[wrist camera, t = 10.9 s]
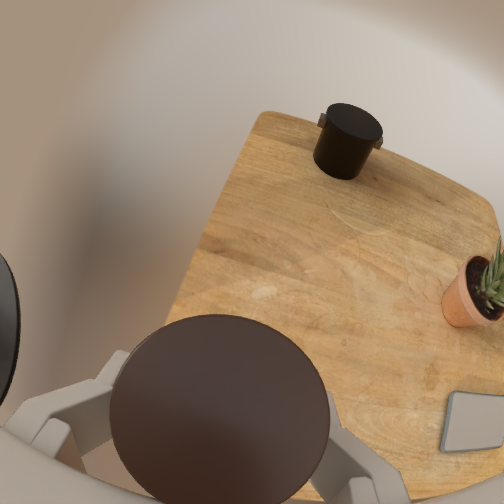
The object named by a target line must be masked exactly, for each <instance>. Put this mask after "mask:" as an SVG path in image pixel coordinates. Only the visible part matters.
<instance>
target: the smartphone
mask: <svg viewBox="0 0 504 504" xmlns="http://www.w3.org/2000/svg"><path fill="white" fill-rule="evenodd" d="M503 441H504V396H501V395H489V394H479V393H471V392H462V391H453V392H451V394H450V396H449V402H448V409H447V415H446V421H445V426H444V431H443V436H442V441H441V446H440V450H441V452H443V453H448V452H465V451H475V450H484V449H492V448H499V447H501V446H502V444H503Z"/></svg>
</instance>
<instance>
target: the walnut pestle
mask: <svg viewBox="0 0 504 504" xmlns="http://www.w3.org/2000/svg"><path fill="white" fill-rule="evenodd" d="M109 421H110V429H111V434H112V438H113V441H114V445H115V448H116V450H117V452H118V454H119V456H120V459H121V461H122V462H123V464H124V465H125V467H126V469H127V470H128V471H129V473H130V474H131V475H132V477H133V478H134V479H135V480H136V481H137V483H139V484H140V485H141V486H142V487H143V488H144V489H145V490H146V491H147V492H148V493H150V494H151V495H152V496H154V497H155V498H156V499H158V500H159V501H161V502H163V503H165V504H281V503H282V502H284V501H286V500H287V499H288V498H290V497H291V496H292V495H294V494H295V493H296V492H297V491H298V490H299V489H300V488H301V487H302V486H303V485H304V484H305V483H306V482H307V481H308V480H309V479H310V477H311V476H312V475H313V473H314V472H315V470H316V469H317V467H318V465H319V463H320V461H321V460H322V457H323V455H324V452H325V449H326V446H327V442H328V438H329V433H330V406H329V401H328V396H327V392H326V389H325V386H324V383H323V381H322V379H321V377H320V375H319V373H318V371H317V369H316V368H315V366H314V365H313V363H312V362H311V360H310V359H309V358H308V357H307V355H306V354H305V353H304V352H303V351H302V350H301V349H300V348H299V347H298V346H297V345H296V344H295V343H294V342H293V341H292V340H290V339H289V338H287V337H286V336H285V335H283V334H282V333H280V332H279V331H277V330H275V329H273V328H271V327H270V326H268V325H265V324H263V323H260V322H258V321H255V320H252V319H248V318H244V317H240V316H234V315H227V314H208V315H198V316H193V317H189V318H184V319H181V320H178V321H176V322H173V323H170V324H168V325H166V326H164V327H162V328H160V329H159V330H157V331H155V332H154V333H152V334H151V335H149V336H148V337H147V338H146V339H144V340H143V341H142V342H141V343H140V344H139V345H138V346H137V347H136V348H135V349H134V350H133V351H132V352H131V353H130V355H129V356H128V357H127V359H126V360H125V362H124V363H123V365H122V366H121V368H120V371H119V373H118V375H117V377H116V379H115V382H114V385H113V389H112V392H111V398H110V404H109Z"/></svg>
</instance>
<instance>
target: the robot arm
mask: <svg viewBox="0 0 504 504" xmlns="http://www.w3.org/2000/svg"><path fill="white" fill-rule="evenodd" d="M129 355H130V353H129V352H126V351H122V350H120V349H119V350H117V351H115V352H114V354H113V355H112V357H111V358H110V359H109V361H108V362H107V363H106V365H105V366H104V367H103V369H102V370H101V372H100V373H99V374H98V376H97V377H96V379H95V380H93V379H87V380H84V381H82V382H79V383H76V384H73V385H70V386H67V387H64V388H61V389H58V390H55V391H52V392H49V393H46V394H42V395H40V396H36V397H33V398H30V399H26V400H24V401H23V403H22V404H21V405H20V406H19V407H18V408H17V410H16V411H15V412H14V413H13V414H12V416H11V417H10V418H9V419H8V421H7V422H6V423H5V424H4V425H3V427H1V426H0V504H165V503H163V502H161V501H159V500H158V499H156V498H152V497H148V496H145V495H142V494H139V493H135V492H132V491H129V490H126V489H123V488H120V487H118V486H114V485H112V484H109V483H107V482H104V481H102V480H99V479H97V478H94V477H92V476H89V475H88V474H87V472H86V469H85V467H84V464H83V462H82V459H81V456H83V455H85V454H86V453H88V452H90V451H91V450H93V449H95V448H96V447H98V446H100V445H101V444H103V443H105V442H106V441H108V440H109V439H111V438H112V434H111V429H110V421H109V404H110V398H111V392H112V389H113V385H114V382H115V379H116V377H117V375H118V373H119V371H120V368H121V366H122V365H123V363H124V362H125V360H126V359H127V357H128V356H129ZM326 392H327V396H328V401H329V406H330V433H329V438H328V442H327V446H326V449H325V452H324V455H323V457H322V460H321V461H320V463H319V465H318V467H317V469H316V470H315V472H314V473H313V475H312V476H311V477H310V479H309V482H310V483H311V484H312V485H313V487H314V488H315V489H316V490H317V492H318V493H319V494H320V495H321V497H322V498H323V499H324V500H325V502H326V503H327V504H412V503H411V500H410V497H409V495H408V492H407V489H406V486H405V484H404V481H403V478H402V476H401V473H400V471H398V470H397V469H396V468H395V467H393V466H392V465H391V464H389V463H388V462H387V461H386V460H384V459H383V458H382V457H381V456H379V455H378V454H377V453H376V452H374V451H373V450H372V449H371V448H370V447H368V446H367V445H366V444H365V443H363V442H362V441H361V440H360V439H359V438H357V437H356V436H355V435H354V434H353V433H352V432H350V431H349V430H348V429H347V428H342V427H341V423H340V420H339V416H338V413H337V410H336V406H335V403H334V399H333V396H332V393H331V392H330V391H326ZM413 504H504V472H502V473H500V474H498V475H496V476H493V477H491V478H489V479H487V480H484V481H482V482H479V483H477V484H474V485H472V486H469V487H466V488H464V489H461V490H458V491H455V492H452V493H449V494H446V495H443V496H439V497H436V498H433V499H429V500H425V501H422V502H418V503H413Z"/></svg>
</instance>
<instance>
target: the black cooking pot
mask: <svg viewBox="0 0 504 504" xmlns="http://www.w3.org/2000/svg"><path fill="white" fill-rule="evenodd" d="M317 126H318V127H321V128H323V129H322V131H321V134H320V137H319V139H318V142H317V145H316V147H315V150H314V153H313V157H314V161H315V163H316V164H317V166H318V167H319V168H320V169H321V170H322V171H324V172H325V173H326V174H328V175H330V176H332V177H334V178H338V179H343V180H349V179H353V178H355V177H357V176H358V174H359V173H360V171H361V169H362V167H363V165H364V164H365V162H366V160H367V158H368V156H369V155H370V153H371V151H372V149H373V148H376V149H378V150H379V149H380V147H381V145H382V144H383V137H382V134H383V130H382V127H381V125H380V124H379V122H378V121H377V120H376V119H375V118H374V117H373V116H372V115H370V114H369V113H368V112H366V111H364V110H362V109H361V108H358V107H356V106H353V105H350V104H344V103H336V104H332V105H330V106H329V107H328V109H327V112H326V114H323V113H321V115H320V118H319V121H318V125H317Z"/></svg>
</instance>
